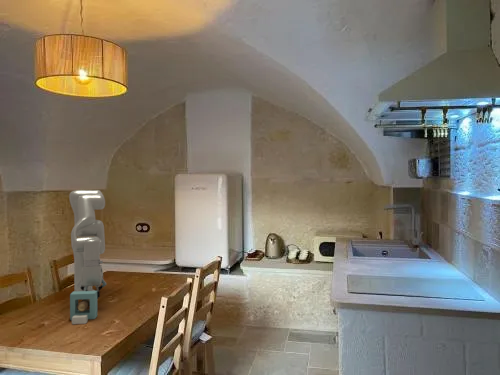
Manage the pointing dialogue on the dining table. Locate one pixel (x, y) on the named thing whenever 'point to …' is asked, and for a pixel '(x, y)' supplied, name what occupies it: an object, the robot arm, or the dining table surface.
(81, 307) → the dowel
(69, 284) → the dining table surface
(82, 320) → the block
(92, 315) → the teal square frame
